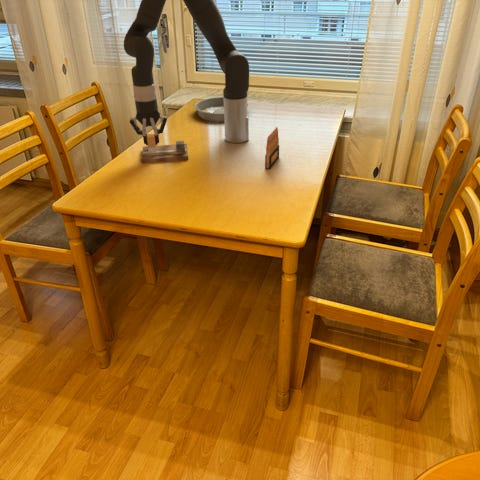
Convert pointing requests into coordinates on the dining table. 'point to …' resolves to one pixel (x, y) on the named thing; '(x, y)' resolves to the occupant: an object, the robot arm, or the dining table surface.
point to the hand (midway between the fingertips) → (151, 144)
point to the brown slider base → (166, 153)
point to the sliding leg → (151, 143)
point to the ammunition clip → (272, 149)
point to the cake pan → (208, 103)
